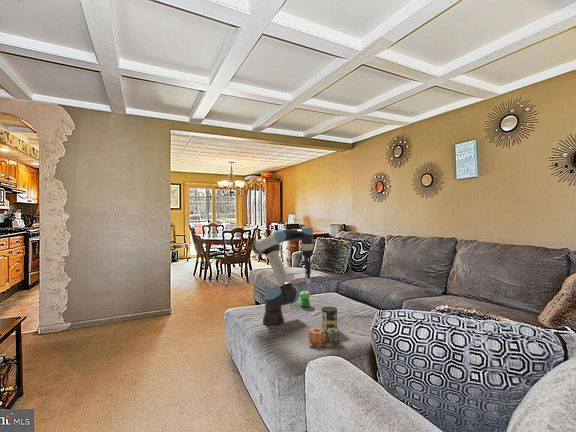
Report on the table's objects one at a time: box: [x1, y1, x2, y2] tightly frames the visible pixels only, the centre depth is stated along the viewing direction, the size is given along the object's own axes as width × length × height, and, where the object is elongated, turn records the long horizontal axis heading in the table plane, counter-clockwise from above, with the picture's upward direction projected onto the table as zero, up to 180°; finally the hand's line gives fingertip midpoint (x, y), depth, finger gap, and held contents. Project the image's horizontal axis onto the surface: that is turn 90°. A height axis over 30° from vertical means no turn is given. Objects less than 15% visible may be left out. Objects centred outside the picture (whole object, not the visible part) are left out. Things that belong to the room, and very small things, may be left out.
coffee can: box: [321, 306, 338, 333], centre depth 201 cm, size 10×10×14 cm
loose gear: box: [308, 327, 325, 344], centre depth 182 cm, size 9×9×6 cm
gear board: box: [307, 327, 344, 349], centre depth 182 cm, size 19×14×8 cm
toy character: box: [290, 289, 311, 309], centre depth 251 cm, size 10×18×13 cm, turn 96°
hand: (307, 280), depth 206 cm, fingers open, 13 cm apart
